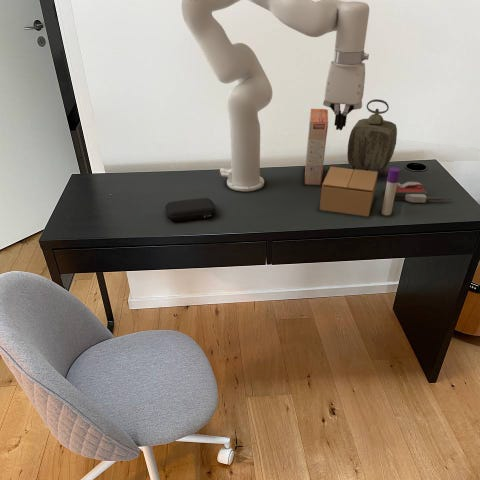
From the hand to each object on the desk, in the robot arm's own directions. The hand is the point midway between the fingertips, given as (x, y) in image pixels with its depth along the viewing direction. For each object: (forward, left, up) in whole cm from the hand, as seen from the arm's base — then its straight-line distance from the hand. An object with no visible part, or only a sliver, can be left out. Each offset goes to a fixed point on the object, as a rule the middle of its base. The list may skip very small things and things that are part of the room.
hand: (339, 128), depth 142 cm
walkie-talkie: (+25, +11, -23) cm, 36 cm away
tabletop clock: (+8, +24, -23) cm, 34 cm away
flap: (+1, 0, -15) cm, 15 cm away
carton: (+5, 0, -23) cm, 23 cm away
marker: (+17, -3, -23) cm, 29 cm away
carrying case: (-39, -21, -23) cm, 50 cm away
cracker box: (-9, +17, -23) cm, 30 cm away
